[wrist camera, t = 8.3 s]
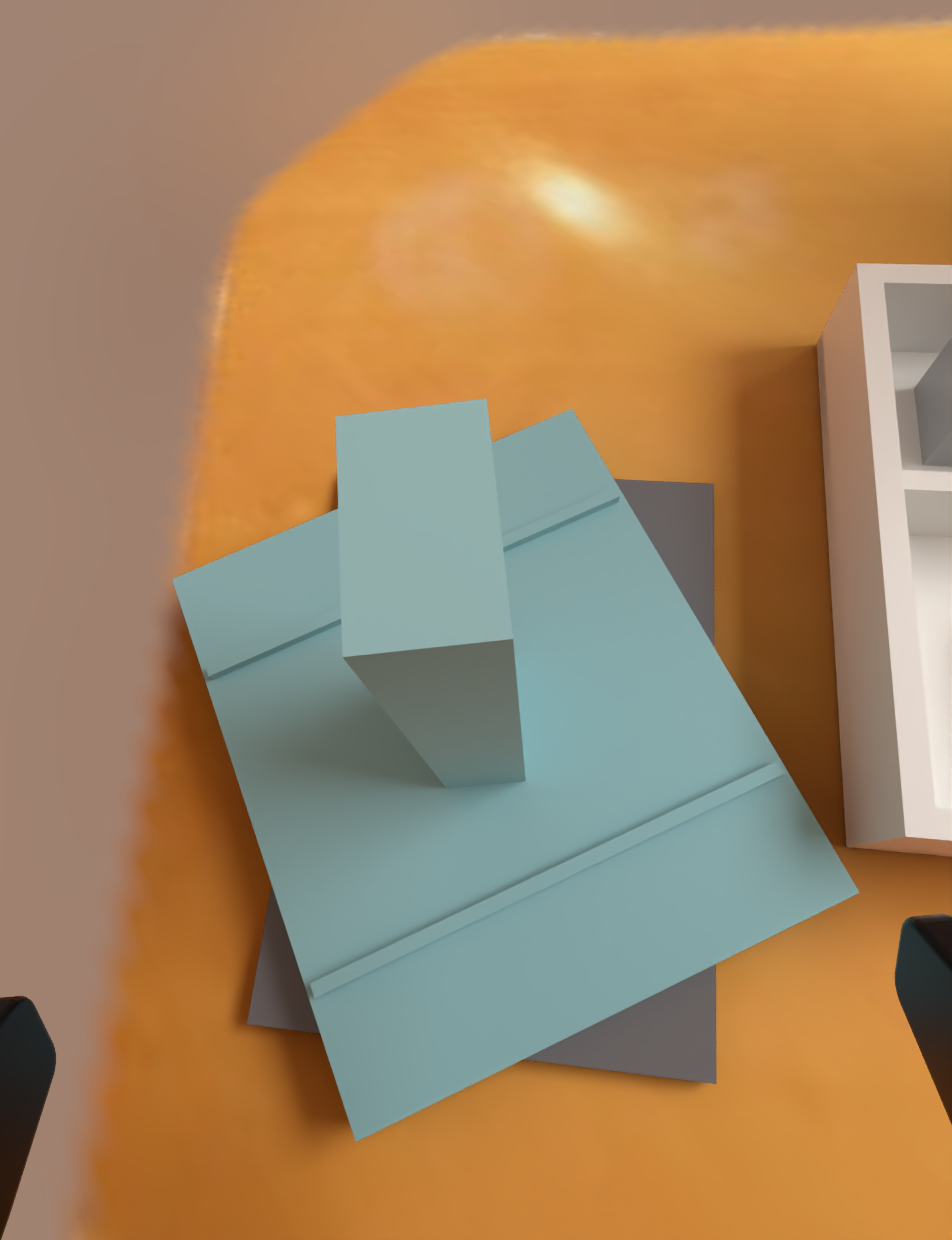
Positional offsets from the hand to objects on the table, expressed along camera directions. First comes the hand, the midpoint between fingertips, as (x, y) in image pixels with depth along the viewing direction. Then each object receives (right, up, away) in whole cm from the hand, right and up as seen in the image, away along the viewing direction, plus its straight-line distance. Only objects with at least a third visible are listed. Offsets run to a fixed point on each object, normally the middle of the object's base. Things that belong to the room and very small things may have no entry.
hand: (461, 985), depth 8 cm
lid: (0, +1, +11) cm, 11 cm away
